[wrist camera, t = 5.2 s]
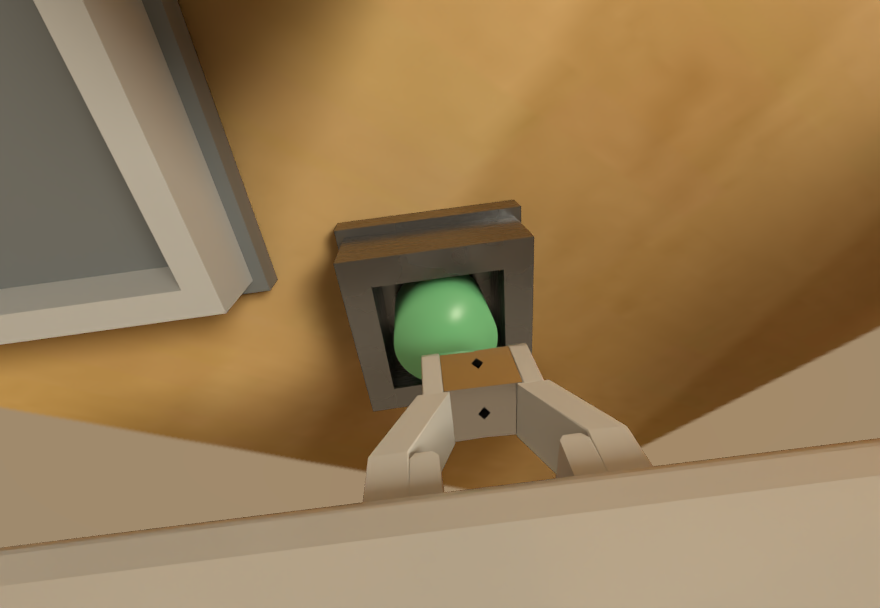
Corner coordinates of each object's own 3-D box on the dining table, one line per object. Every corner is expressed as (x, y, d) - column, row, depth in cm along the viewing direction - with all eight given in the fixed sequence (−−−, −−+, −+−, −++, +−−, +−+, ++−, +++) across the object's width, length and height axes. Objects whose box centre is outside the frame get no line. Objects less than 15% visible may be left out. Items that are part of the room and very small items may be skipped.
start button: (481, 259, 14) (496, 289, 12) (485, 337, 16) (499, 375, 14) (387, 273, 14) (384, 304, 12) (402, 349, 16) (402, 389, 14)
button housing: (513, 199, 15) (544, 226, 12) (515, 343, 18) (538, 392, 15) (338, 223, 14) (321, 256, 11) (372, 363, 18) (367, 417, 15)
